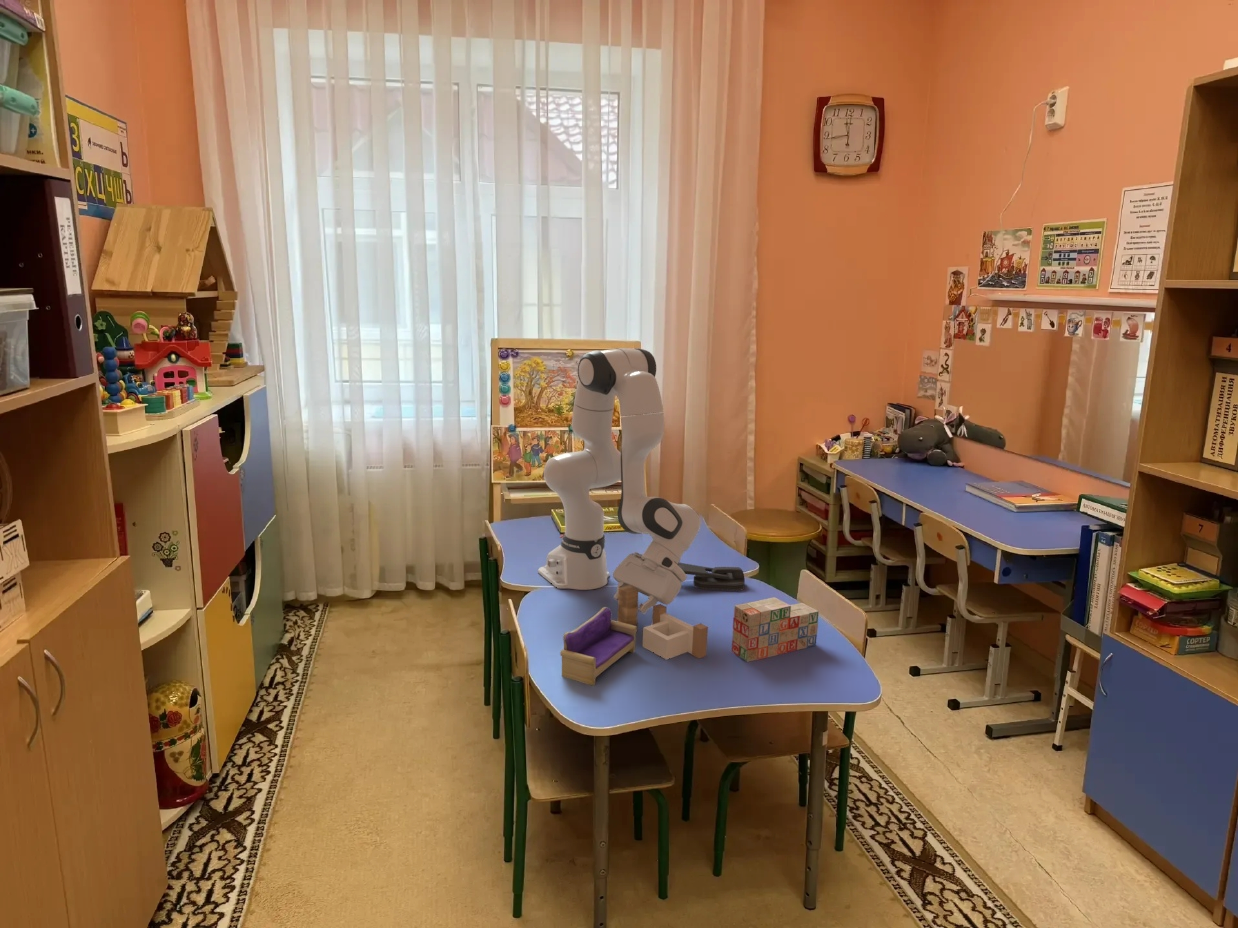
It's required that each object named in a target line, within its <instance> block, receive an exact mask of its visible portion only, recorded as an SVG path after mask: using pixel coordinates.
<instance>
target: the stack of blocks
mask: <svg viewBox="0 0 1238 928" xmlns="http://www.w3.org/2000/svg"><path fill="white" fill-rule="evenodd" d="M819 614H820V613H819V610H818V609H815V608H813V607H811V606H809V605H807V604H805V603H804V602H798V603H794V604H789V603H787V602H784V601H783V600H781V599H779V598H777V597H775V596H774V597H769V598H764V599H760V600H756V601H750V602H746V603H740V604H735V605H734V611H733V620H732V621H733V622H732V641H731V642H732V643H731V652H732V654H734V655H736V656H738V657H740V659H742V660H743V659H744V660H743V661H745V662H746V661H747V663H749V662H751V661H752V662H753V661H757V660H756V659H758V660H762V659H765V658H766V659H767V658H770V657H775V656H777V655H782V654H787V653H790V652H795V651H798V650H802V649H803V650H804V649H807V648H811V647H815V646H817V639H818V637H817V636H818V628H819V627H818V626H819Z"/></svg>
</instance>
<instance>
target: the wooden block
mask: <svg viewBox="0 0 1238 928" xmlns="http://www.w3.org/2000/svg"><path fill="white" fill-rule="evenodd" d="M638 602H639V592H638V589H636V588H634V587H631V586H626V587H622V588H619V593H618V601H617V621H618V622H622V623H626V624H630V625H633V626H637V631H638V630H639V629H638V626H639V623H638V607H639V606H638V605H639V603H638Z"/></svg>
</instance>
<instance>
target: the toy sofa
mask: <svg viewBox="0 0 1238 928" xmlns="http://www.w3.org/2000/svg"><path fill="white" fill-rule="evenodd" d="M612 616H613V613H612V610H611V608H609V607H606V606H604V607H602V608H601V609H600V610H599V611H598V612H597V613H596V614H594V616H592V617H591V618H589V619H587V620H586V621H585V622H583V623H581V625H579V626H578V627H577V628H575V629H574V630H572V631H567V632H565V633H564V634H563V637H562V638H563V639H562V640H563V649H561V650H560V652H559V654H560V656H561V677H564V678H567V679H570V680H574V681H577V682H579V683H583V684H586V685H590V686H595V685H596V679H597V677H598V676H599V675H601V673H603V672H605V670H607V669H608V668H609V667H611V665H613V664H614V663H615V662H616V661H618V660H619V659H620V658H622V657H623V656H624V655H626V654H627V653H635V652H636V634H637V631H638V630H637V626H633V625H630V624H626V623H622V622H618V620H613V619H612Z"/></svg>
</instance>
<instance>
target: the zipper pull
mask: <svg viewBox="0 0 1238 928" xmlns="http://www.w3.org/2000/svg"><path fill="white" fill-rule="evenodd" d="M678 565H679V566H680V568H681V569H682V570H683V571H684V573H685V574H686V575H689V576H693V580H692V581H693V585H694V587H695V588H697V589H699V590H705V591H706V590H711V591H729V590H734V591H735V592H736V590H737V591H742V590H741V589H743V590H744V588H745V573H744V571H743V569H742V568H741V567H737V566H715V567H706V566H702V565H696V564H689V563H683V562H679V563H678ZM734 591H733V592H734Z"/></svg>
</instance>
